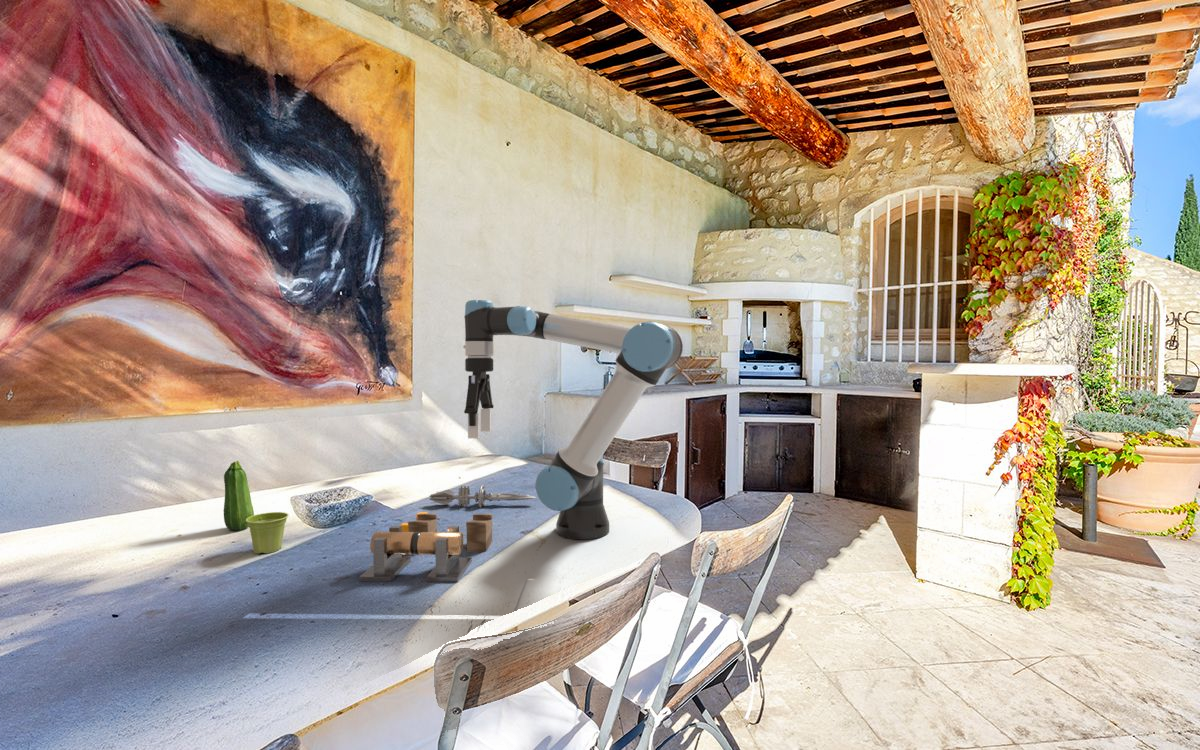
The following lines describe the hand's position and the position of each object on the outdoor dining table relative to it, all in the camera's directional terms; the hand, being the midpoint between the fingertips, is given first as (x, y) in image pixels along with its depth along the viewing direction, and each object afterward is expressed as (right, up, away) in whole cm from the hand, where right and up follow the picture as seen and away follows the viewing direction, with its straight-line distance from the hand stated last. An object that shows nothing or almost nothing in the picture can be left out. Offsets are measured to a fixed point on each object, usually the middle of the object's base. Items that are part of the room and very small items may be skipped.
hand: (479, 434), depth 146 cm
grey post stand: (-9, -29, -22) cm, 38 cm away
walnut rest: (-6, -29, -6) cm, 30 cm away
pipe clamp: (-18, -29, -1) cm, 34 cm away
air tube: (-10, -23, -22) cm, 33 cm away
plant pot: (-53, -29, -8) cm, 61 cm away
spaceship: (-6, -28, +30) cm, 41 cm away
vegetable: (-72, -29, +8) cm, 78 cm away
